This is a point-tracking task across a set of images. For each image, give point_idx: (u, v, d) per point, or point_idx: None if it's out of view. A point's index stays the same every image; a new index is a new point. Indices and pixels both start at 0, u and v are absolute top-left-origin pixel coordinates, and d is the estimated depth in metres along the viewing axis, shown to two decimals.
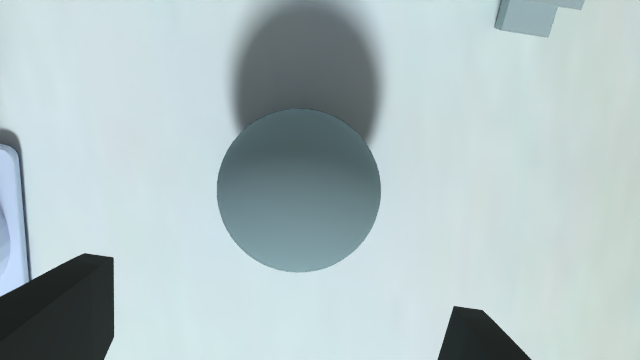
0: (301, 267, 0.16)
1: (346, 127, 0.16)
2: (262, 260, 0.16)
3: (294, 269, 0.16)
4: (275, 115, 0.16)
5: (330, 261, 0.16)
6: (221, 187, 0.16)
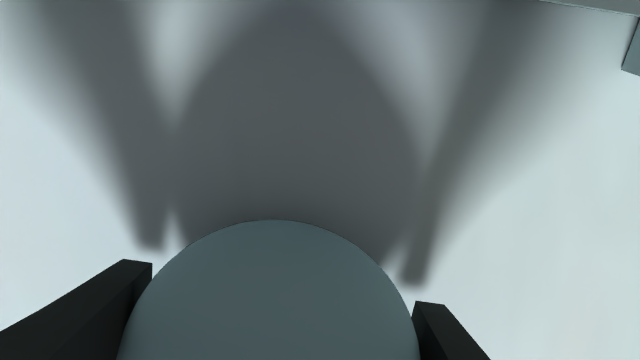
0: None
1: (359, 267, 0.08)
2: None
3: None
4: (222, 246, 0.08)
5: None
6: None
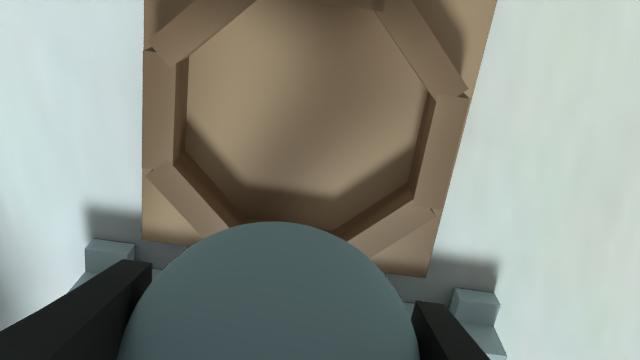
0: None
1: (358, 269, 0.08)
2: None
3: None
4: (222, 248, 0.08)
5: None
6: None
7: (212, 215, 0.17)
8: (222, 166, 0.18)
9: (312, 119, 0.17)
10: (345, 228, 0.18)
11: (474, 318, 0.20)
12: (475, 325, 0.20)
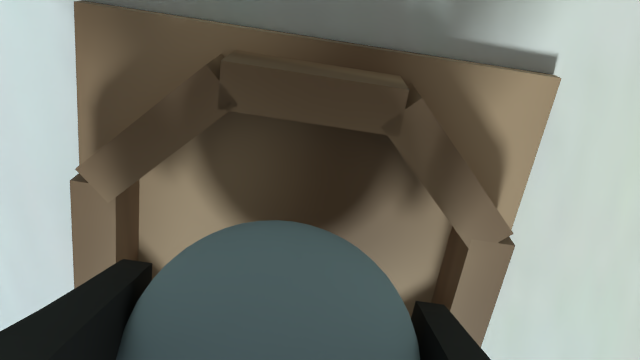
0: None
1: (358, 268, 0.08)
2: None
3: None
4: (222, 247, 0.08)
5: None
6: None
7: None
8: None
9: None
10: None
11: None
12: None
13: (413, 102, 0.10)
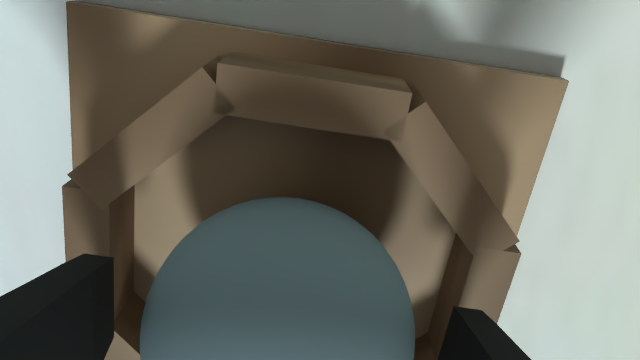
0: None
1: (358, 236, 0.10)
2: None
3: None
4: (236, 218, 0.09)
5: None
6: (143, 348, 0.09)
7: None
8: None
9: None
10: None
11: None
12: None
13: (416, 106, 0.10)
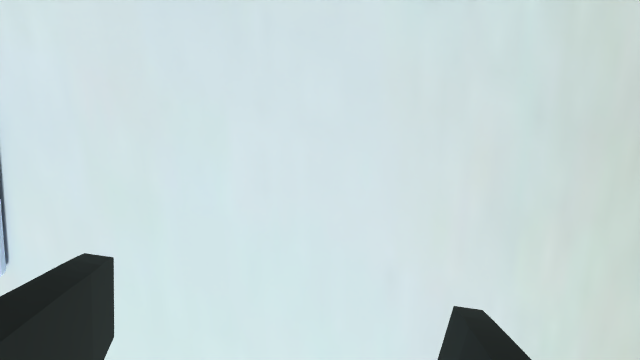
0: None
1: None
2: None
3: None
4: None
5: None
6: None
7: None
8: None
9: None
10: None
11: None
12: None
13: None
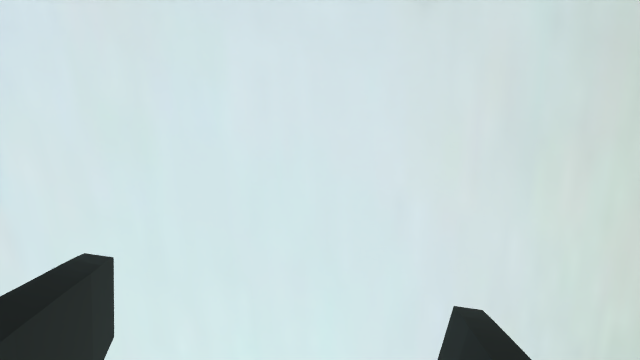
0: None
1: None
2: None
3: None
4: None
5: None
6: None
7: None
8: None
9: None
10: None
11: None
12: None
13: None
